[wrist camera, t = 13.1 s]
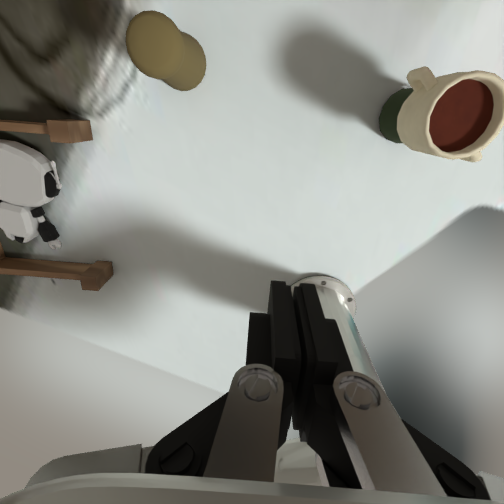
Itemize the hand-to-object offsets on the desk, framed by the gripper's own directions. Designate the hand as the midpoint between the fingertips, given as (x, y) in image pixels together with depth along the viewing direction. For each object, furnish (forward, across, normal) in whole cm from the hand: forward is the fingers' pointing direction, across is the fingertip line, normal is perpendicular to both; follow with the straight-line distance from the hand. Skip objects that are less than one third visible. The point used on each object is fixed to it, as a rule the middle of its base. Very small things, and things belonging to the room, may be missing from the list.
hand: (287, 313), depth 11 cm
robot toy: (+32, +35, +6) cm, 48 cm away
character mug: (+32, -16, -8) cm, 37 cm away
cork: (+32, +12, -12) cm, 36 cm away
